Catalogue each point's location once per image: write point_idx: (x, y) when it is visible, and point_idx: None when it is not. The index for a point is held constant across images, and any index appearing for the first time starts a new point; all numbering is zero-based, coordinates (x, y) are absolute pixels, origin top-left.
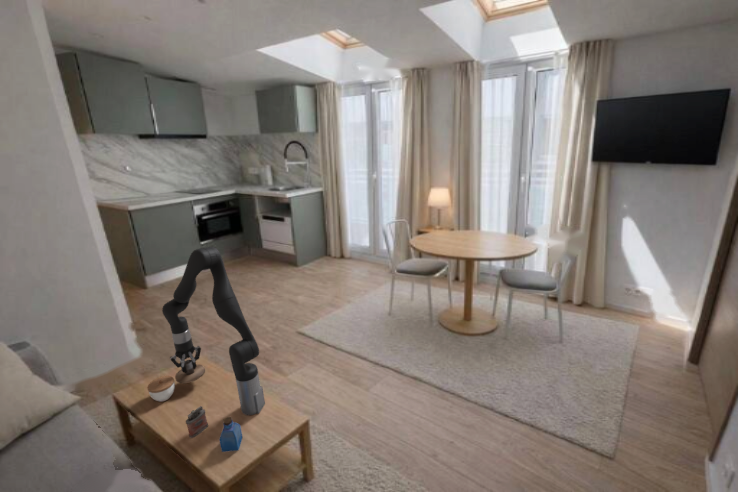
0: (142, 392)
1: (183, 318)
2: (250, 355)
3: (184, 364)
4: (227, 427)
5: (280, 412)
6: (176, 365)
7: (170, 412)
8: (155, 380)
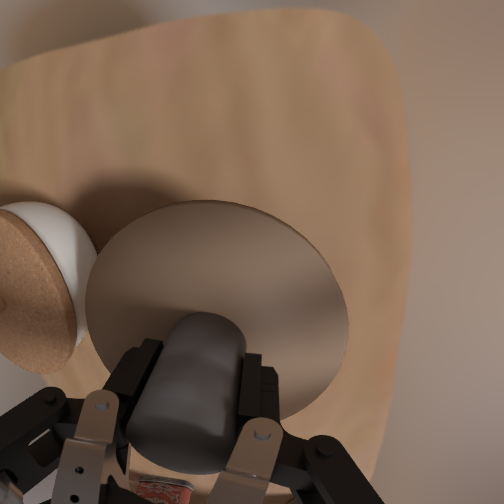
0: (5, 122)
1: None
2: None
3: (135, 440)
4: None
5: None
6: (47, 449)
7: (89, 380)
8: None
